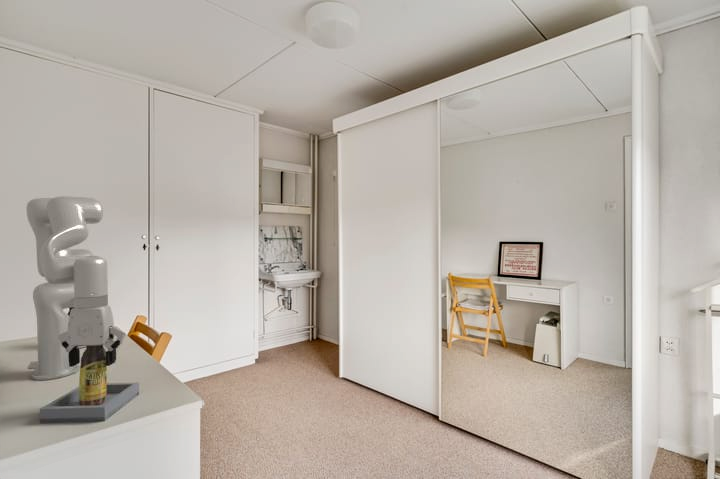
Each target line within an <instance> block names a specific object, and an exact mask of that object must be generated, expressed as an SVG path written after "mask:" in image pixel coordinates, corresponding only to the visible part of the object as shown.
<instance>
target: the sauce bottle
mask: <svg viewBox="0 0 720 479" xmlns="http://www.w3.org/2000/svg"><path fill="white" fill-rule="evenodd" d="M106 351H107V349H105V346H104V345H99V346H86V347H85V350H84V351H83V352H82V355H81V357H80V365H79V383H78V385H79V386H78V387H79V405H80V406H94V405H98V404H101V403H103V402H104V401H105V396H106V386H107V383H108V382H107V379H108V366H107V365H106Z"/></svg>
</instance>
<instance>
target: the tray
mask: <svg viewBox="0 0 720 479" xmlns="http://www.w3.org/2000/svg"><path fill="white" fill-rule="evenodd" d="M139 395H140V382H138V381H137V382H107V386H106V396H105V401H104V402H103V403H101V404H98V405H94V406H80V405H79V386H78V387H76V388H74V389H72V390H70V391H69V392H67V393H65V394H64V395H62V396H60V397H58V398H57V399H56V398H55V399H54V400H53V401H51V402H49V403H48V404H46V405H44V406H42V407H41V408H39V423H40V424H43V423H44V424H45V423H46V424H48V423H78V422H84V423H86V422H105V421H107V420H108V419H109V418H111V417H112V416H113V415H115V413H117V412H119V411H120V410H121V409H122V408H123V407H125V406H127V404H129V403H130V402H132V400H134V399H135V398H136V397H137V396H139Z"/></svg>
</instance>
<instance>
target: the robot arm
mask: <svg viewBox="0 0 720 479" xmlns="http://www.w3.org/2000/svg"><path fill="white" fill-rule="evenodd" d="M26 216H27V221H28V223H29V226H30V227H31V230H32V232H33V233H34V236H35V242H36V244H35V245H36V264H37V266H36V267H37V272H38V274H39V275H40V276H41V277H44V279H45V280H46V282H43V283H40V284H38V285H37V286H36V287H35V288H34V289H33V290H32V300H33V304H34V310H35V313H36V328H37V329H36V330H37V331H36V332H37V360H36V361H30V362H29V364H28V365H27V367H26V368H27V370H34V372H33V373H32V374H31V377H32V379H33V380H36V381H47V380H48V381H49V380H54V379H59V378H63V377H67V376H70V375H72V374H75V373H76V372H78V371H80V365H79V364H81V357H80V356H81V355H80V354H81V353H80V349H77V348H78V346H99V345H103V347H104V348H106V365H107V367H110V366H111V365H113V364H115V363H116V361H117V349H118V348H119V346H120V345H122V343H123V341H124V339H125V337H126V335H127V333H126V332H124V331H122V330H120V329H118V328H116V327H115V322H114V316H113V312H112V308H111V306H110V305H109V295H108V294H109V289H108V288H109V286H108V279H109V278H108V261H107V260H106V258H104V257H101V256H99V255H94V254H93V252H91V250H88V249H84V248H78V249H77V248H76V249H71V248H72V247H75V246H77V245H80V244H81V243H83V242H85V241H86V239H87V238H88V237H89V228H88V226H87V225H88V224H89V225H91V224H92V225H93V224H94V225H95V224H98V223H100V222H101V221H102V219H103V217H104V209H103V206H102V204H101V202H100V200H98V199H97V198H94V197H82V196H66V195H65V196H55V197H40V198H39V197H38V198H33V199H31V200H29V201H28V203H27V205H26ZM71 307H74V308H73V309H71V312H70V316H69V315H68V313H66V312H65V311H64V309H69V308H71ZM115 337H116V340H114V339H115Z"/></svg>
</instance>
